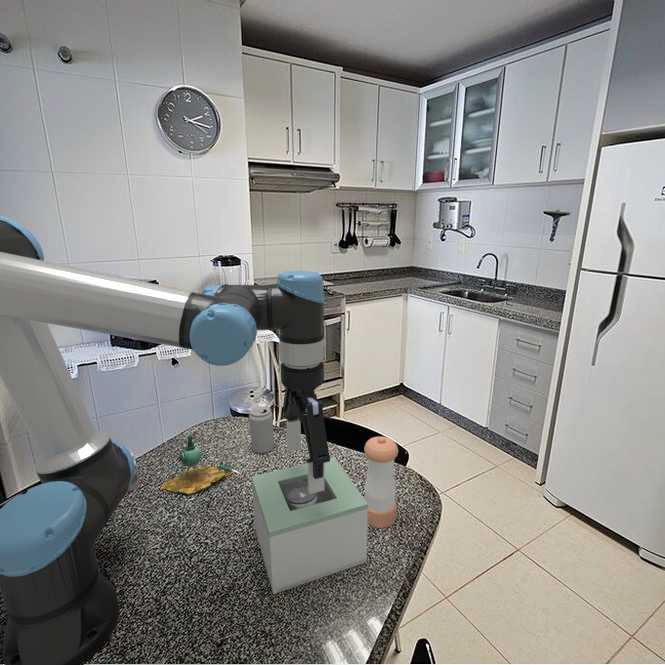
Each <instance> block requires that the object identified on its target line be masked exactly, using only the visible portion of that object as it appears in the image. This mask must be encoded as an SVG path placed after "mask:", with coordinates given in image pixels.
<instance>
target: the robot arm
mask: <svg viewBox="0 0 665 665" xmlns="http://www.w3.org/2000/svg"><path fill="white" fill-rule="evenodd" d="M44 255H45V254H44V251H43V248H42V246H41V244H40V242H39V241H38V239H37V238H36V236H35V235H34V234H33V233H32V232H31V231H30V230H28V228H26V227H25V226H24V225H22V224H21V223H20V222H17V221H15V220H14V219H11V218H9V217H7V216H2V215H0V378H1V380H2V382H3V384H4V386H5V389H6V391H7V392H8V394H9V396H10V399H11V400H12V402H13V403H14V407H15V408H16V410H17V411H18V412H17V413H18V414H19V415H20V418H21V419H22V422H23V424H24V425H25V428H26V429H27V431H28V433H29V435H30V437H31V439H32V442H33V443H34V446H35V447H36V449H37V451H38V453H39V458H38V460H37V461H36V463H35V465H34V471H35V473H36V474H37V476H38V479H39V480H40V482H41V484H38V485H36V486H34V487H33V486H32V487H31V488H29V489H27V491H26V492H25V493H19V494H17V495H15V497H13V498H11V499H10V500H9V501H7V502H6V503H5V504H4V505H3V506H2V507H1V508H0V595H1V598H2V602H3V604H4V605H3V606H4V607H5V610H6V614H7V621H6V626H5V630H4V631H5V632H4V636H3V643H2V648H1V649H2V650H1V653H2V654H1V655H2V660H3V664H4V665H82V664H84V663H86V662H87V661H88V660H89V659H90V658H91V657H93V656H94V655H95V654H96V653H97V652H98V651H99V649H101V648H102V647H103V646H104V644H105V643H106V641H107V640H108V639H109V638H110V636H111V635H112V633H113V631H114V629H115V627H116V625H117V623H118V620H119V616H120V602H119V597H118V594H117V591H116V589H115V587H114V586H113V585H112V583H110V581H109V580H108V579H107V577H106V576H104V574H103V573H102V572H101V570H100V569H99V565H98V560H97V556H96V550H95V544H96V542H97V540H98V538H99V537H100V535H101V533H102V531H103V530H104V528H105V527H106V525H107V524H108V522H109V520H110V519H111V517H112V516H113V514H114V512H115V511H116V509H117V508H118V507H119V505H120V504H121V502H122V500H123V499H124V498H125V496H126V495H127V493H128V492H129V491H128V489H129V487H130V484H131V482H132V479H133V476H134V471H135V465H134V460H135V459H134V460H133V457H132V455H131V453H132V452H131V451H130V450H129V448H127V446H125V445H124V444H119V443H118V441H117V440H115V439H112V438H111V437H110V435H109V433H108V432H106V431H101V430H97V429H96V428H95V425H94V423H93V421H92V419H91V417H90V415H89V412H88V411H87V408H86V406H85V403H84V402H83V399H82V396H81V395H80V392H79V390H78V388H77V386H76V383H75V380H74V379H73V377H72V375H71V373H70V371H69V368H68V366H67V364H66V362H65V359H64V357H63V355H62V353H61V350H60V348H59V346H58V344H57V342H56V339H55V338H54V335H53V333H52V331H51V329H50V327H49V325H50V324H51V325H55V326H62V327H67V328H73V329H78V330H83V331H88V332H93V333H98V334H104V335H108V336H109V335H111V336H114V337H115V336H116V337H122V338H126V339H132V340H138V341H141V342H142V341H143V342H147V343H154V344H159V345H165V346H169V347H175V348H181V349H186V350H191V351H193V352H194V353H195V355H197V356H198V357H199V358H200V359H201V360H203V361H204V362H206V364H210V365H212V366H218V367H219V366H220V367H223V366H224V367H225V366H229V365H233V364H236V363H237V362H239V361H241V360H242V359H243V358H244V357H245V356H246V355H247V354H248V352H249V350H250V349H251V348H252V347H253V344H254V342H255V341H256V338H257V334H258V331H274V330H278V332H279V341H278V342H279V360H280V362H281V363H280V382H281V383H280V384H282V386H284V387H285V389H284V397H283V403H282V412H283V413H285V415H284V417H285V420H286V422H285V423H286V424H285V426H286V450H287V452H288V453H290V452H295V451H296V452H297V451H300V450H302V435H301V434H302V430H301V429H302V428H301V426H303V431H304V436H305V441H306V445H307V446H306V447H307V451H308V454H309V457H307V459H305V463H306V464H307V463H308V492H309V494H312V493H316V492H320V491H324V463H326V462H330V458H331V457H330V451H329V450H330V449H329V445H328V438H327V437H328V436H327V431H326V425H325V419H324V418H325V417H324V407H323V401H322V400H318V397H317V394H316V392H315V390H317V388H319V387H321V386H322V385H323V383H324V382H325V364H324V362H323V361H324V358H325V356H324V355H325V354H324V353H325V352H324V350H325V348H324V347H326V345H327V342H326V340H325V339H324V337H325V335H324V334H325V294H324V293H325V292H324V278H323V276H322V275H321V274H320V273H318V272H317V271H313V270H287V271H282V272H279V273H278V275H277V280H276V283H272V284H228V283H222V284H219V285H218V284H217V285H207V286H206V287H204V289H203V290H202V292H201V293H198V292H194V291H190V290H188V289H187V290H186V289H181V288H177V287H171V286H167V285H161V284H157V283H152V282H147V281H143V280H138V279H133V278H130V277H129V278H128V277H124V276H119V275H113V274H110V273H103V272H98V271H95V270H90V269H85V268H81V267H80V268H79V267H75V266H71V265H65V264H61V263H57V262H50V261H46V260H45V256H44ZM301 423H302V425H301ZM130 452H131V453H130ZM127 491H128V492H127Z"/></svg>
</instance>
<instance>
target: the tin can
mask: <svg viewBox="0 0 665 665" xmlns="http://www.w3.org/2000/svg"><path fill="white" fill-rule="evenodd" d="M285 496H286V501H287V505H288V508H289V510H290V511H293V510H297V509H300V508H304V507H307V506H311V505H315V504H318V503H319V501H318V492H316V493H312V494H309V492H308V480H299V481H296V482H293V483H292V484H290V485H289V486H288V487H287V488H286V491H285Z"/></svg>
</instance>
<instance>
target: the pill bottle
mask: <svg viewBox="0 0 665 665" xmlns="http://www.w3.org/2000/svg"><path fill="white" fill-rule="evenodd" d="M129 452H130V453H131V455H132V457H133V460H134V465H135V471H134V476H133V479H132V482H131V484H130V487H129V489H128V491H127V493H129V492H131V491H134V490H136V489H137V488H138V487H139V485H140V478H139V473H138V467H137V461H136V460H135V456H134V454H133V452H131V451H129Z"/></svg>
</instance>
